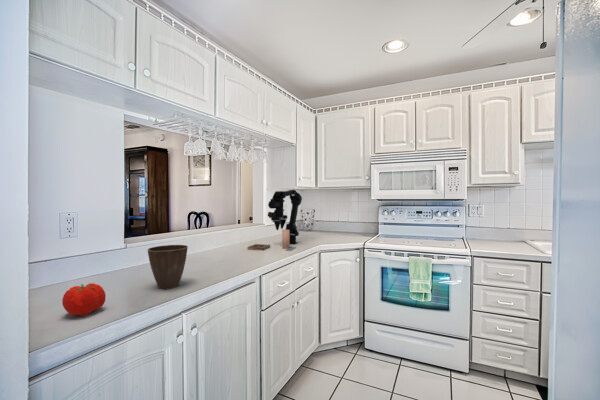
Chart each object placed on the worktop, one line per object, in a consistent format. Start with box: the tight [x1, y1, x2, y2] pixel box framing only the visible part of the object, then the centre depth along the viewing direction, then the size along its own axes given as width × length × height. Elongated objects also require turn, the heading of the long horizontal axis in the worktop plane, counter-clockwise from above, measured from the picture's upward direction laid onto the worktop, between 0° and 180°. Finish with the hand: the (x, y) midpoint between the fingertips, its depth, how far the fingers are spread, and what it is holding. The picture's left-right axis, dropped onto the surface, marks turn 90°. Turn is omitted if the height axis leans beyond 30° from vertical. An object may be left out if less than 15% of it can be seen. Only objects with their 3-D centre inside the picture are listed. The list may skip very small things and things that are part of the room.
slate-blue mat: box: [284, 246, 296, 252], centre depth 196 cm, size 11×11×1 cm
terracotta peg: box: [281, 229, 291, 250], centre depth 196 cm, size 5×5×13 cm
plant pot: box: [147, 244, 188, 290], centre depth 114 cm, size 15×15×16 cm
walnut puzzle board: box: [246, 243, 271, 251], centre depth 195 cm, size 12×12×2 cm
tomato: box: [61, 282, 107, 317], centre depth 88 cm, size 11×11×9 cm
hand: (279, 229), depth 203 cm, fingers open, 9 cm apart
